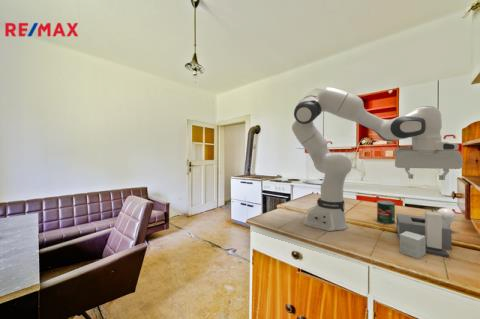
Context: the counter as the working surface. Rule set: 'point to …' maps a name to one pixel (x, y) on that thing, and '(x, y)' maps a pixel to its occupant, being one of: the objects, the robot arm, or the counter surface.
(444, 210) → the lightbulb
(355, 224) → the counter surface
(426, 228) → the beige rectangular block
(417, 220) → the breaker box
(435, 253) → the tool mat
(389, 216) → the canned tomato
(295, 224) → the counter surface
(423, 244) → the product box
